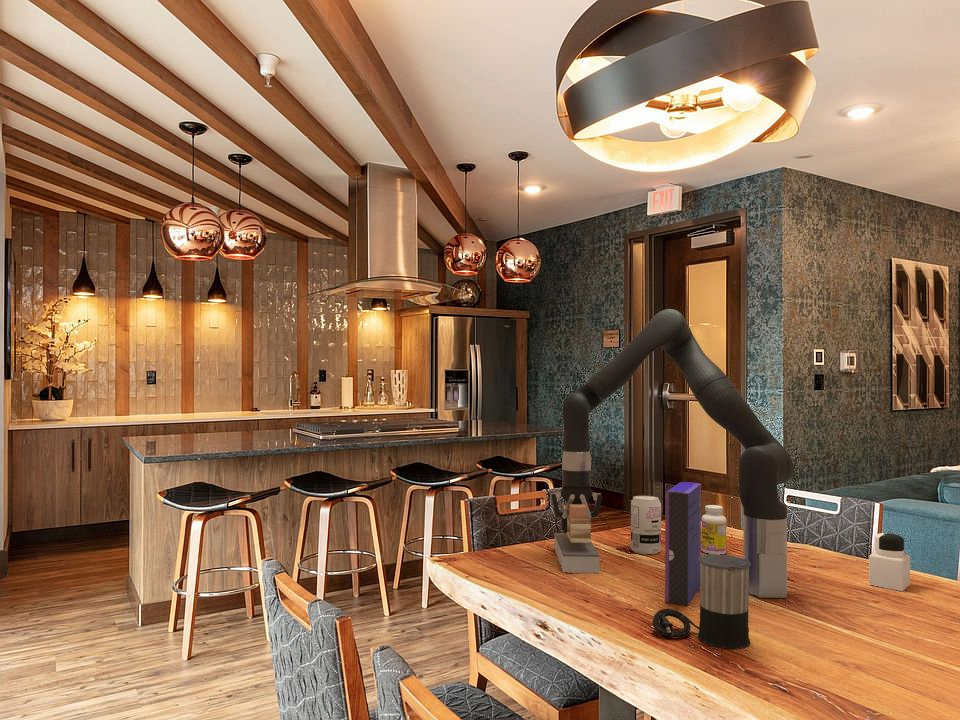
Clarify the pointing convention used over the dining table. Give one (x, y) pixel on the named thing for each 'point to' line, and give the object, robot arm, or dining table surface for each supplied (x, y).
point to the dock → (576, 555)
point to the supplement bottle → (713, 530)
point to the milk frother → (717, 604)
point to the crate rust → (577, 511)
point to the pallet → (579, 530)
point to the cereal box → (682, 542)
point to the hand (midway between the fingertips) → (576, 531)
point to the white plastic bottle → (889, 563)
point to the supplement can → (645, 525)
